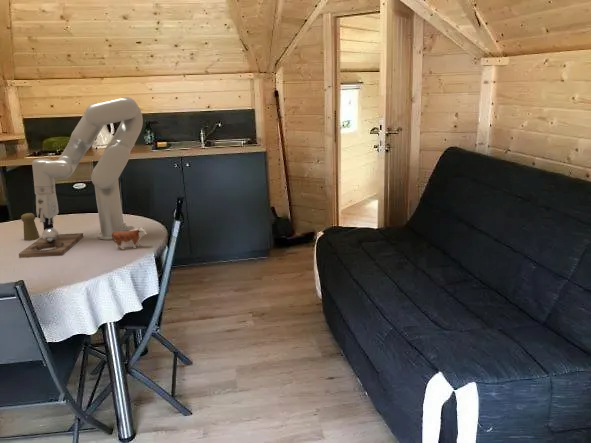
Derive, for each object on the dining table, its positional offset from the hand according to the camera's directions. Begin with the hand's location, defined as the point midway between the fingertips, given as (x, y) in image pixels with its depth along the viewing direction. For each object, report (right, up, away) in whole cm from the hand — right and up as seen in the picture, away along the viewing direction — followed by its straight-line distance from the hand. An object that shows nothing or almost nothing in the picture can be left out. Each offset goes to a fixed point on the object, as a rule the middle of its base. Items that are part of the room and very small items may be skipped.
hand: (48, 233), depth 203 cm
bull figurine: (+37, -6, -8) cm, 38 cm away
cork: (-11, -3, +8) cm, 14 cm away
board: (+4, -5, -4) cm, 7 cm away
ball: (+2, -1, -4) cm, 4 cm away
